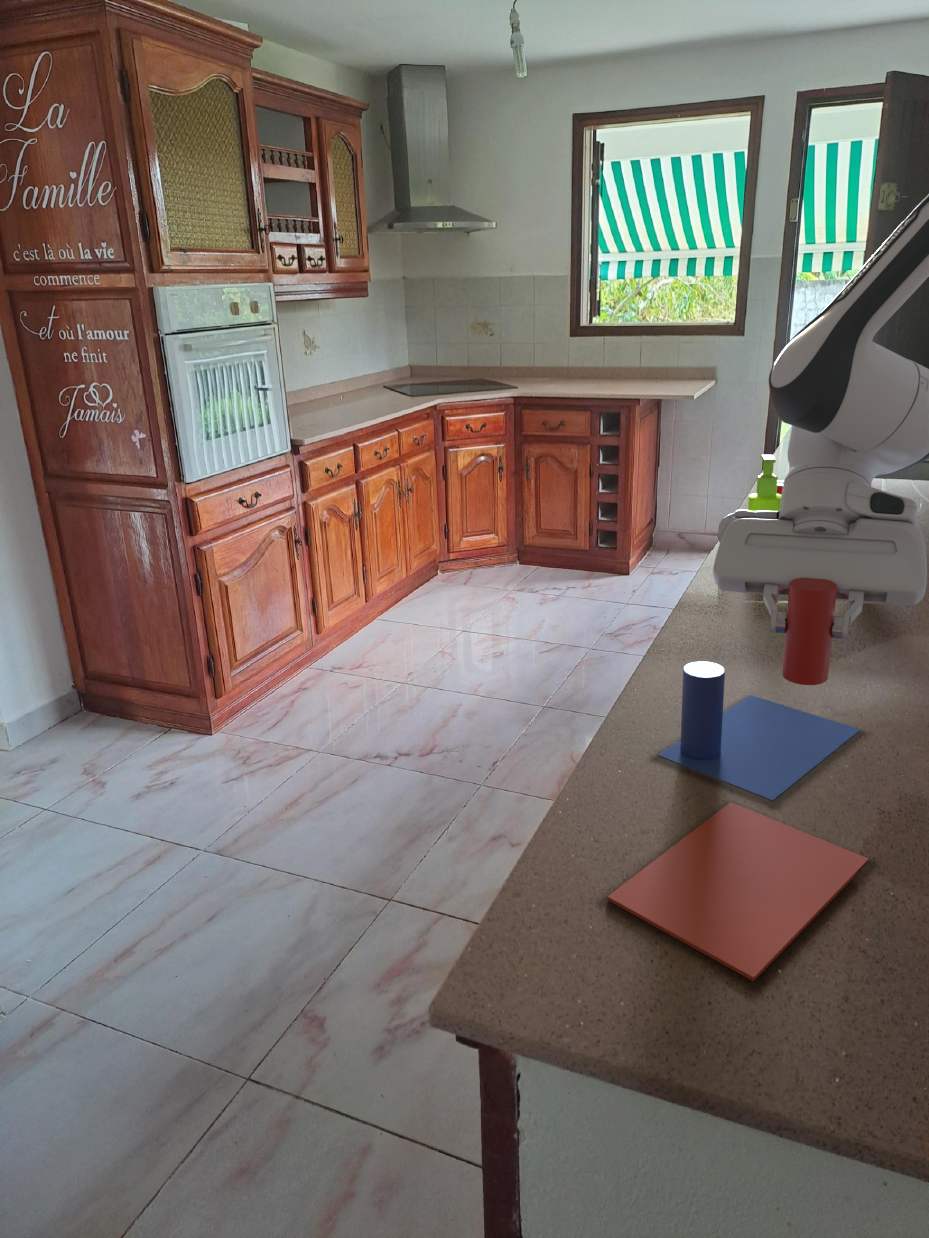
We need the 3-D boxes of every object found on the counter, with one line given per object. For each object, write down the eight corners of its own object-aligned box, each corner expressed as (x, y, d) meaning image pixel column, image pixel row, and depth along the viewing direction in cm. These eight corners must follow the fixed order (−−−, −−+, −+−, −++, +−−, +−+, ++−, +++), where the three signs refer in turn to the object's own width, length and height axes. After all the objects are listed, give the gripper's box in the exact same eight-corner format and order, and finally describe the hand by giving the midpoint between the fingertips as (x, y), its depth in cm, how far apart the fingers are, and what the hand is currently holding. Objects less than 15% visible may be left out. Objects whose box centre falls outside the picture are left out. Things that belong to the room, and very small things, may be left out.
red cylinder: (835, 675, 90) (845, 582, 86) (814, 689, 87) (823, 594, 84) (795, 664, 93) (802, 574, 89) (773, 677, 90) (780, 585, 87)
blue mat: (860, 732, 101) (860, 729, 101) (772, 803, 89) (773, 800, 89) (750, 697, 111) (750, 694, 111) (657, 757, 99) (657, 754, 99)
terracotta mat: (868, 862, 79) (869, 858, 79) (753, 981, 67) (753, 977, 67) (730, 805, 89) (730, 801, 89) (607, 900, 77) (607, 896, 77)
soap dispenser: (775, 560, 163) (783, 452, 156) (781, 571, 156) (789, 459, 149) (742, 560, 164) (748, 453, 157) (746, 571, 157) (753, 460, 150)
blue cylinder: (728, 749, 99) (732, 668, 95) (706, 764, 96) (710, 681, 93) (694, 736, 102) (697, 657, 98) (672, 751, 99) (675, 670, 96)
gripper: (719, 494, 94) (699, 610, 89) (934, 502, 86) (925, 631, 81) (724, 524, 99) (705, 635, 95) (926, 534, 91) (917, 657, 86)
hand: (808, 633), depth 88 cm, fingers closed on red cylinder, 4 cm apart
